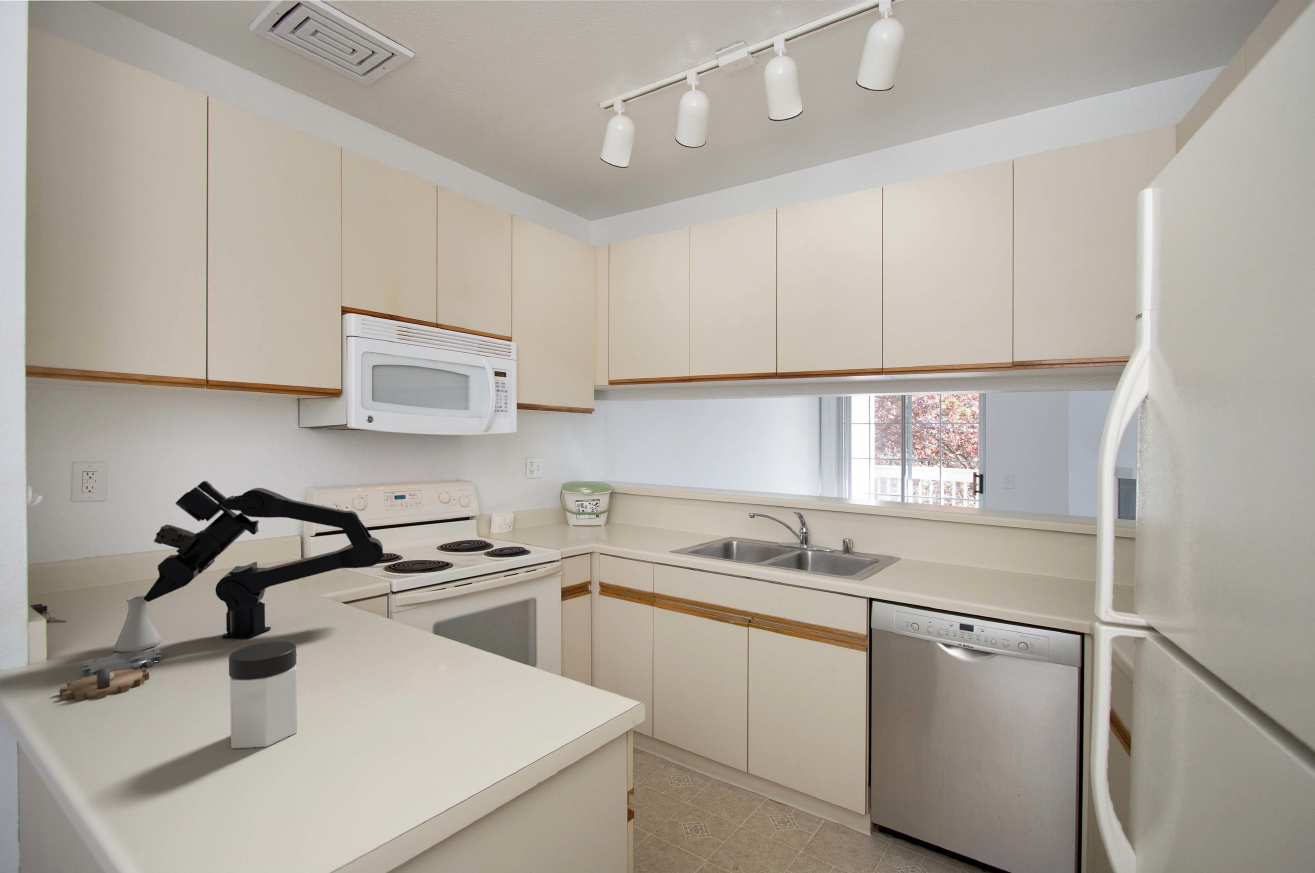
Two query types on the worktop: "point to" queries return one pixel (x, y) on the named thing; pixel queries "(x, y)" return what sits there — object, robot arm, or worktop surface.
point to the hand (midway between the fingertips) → (153, 594)
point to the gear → (123, 661)
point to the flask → (137, 628)
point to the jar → (263, 694)
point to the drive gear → (104, 683)
